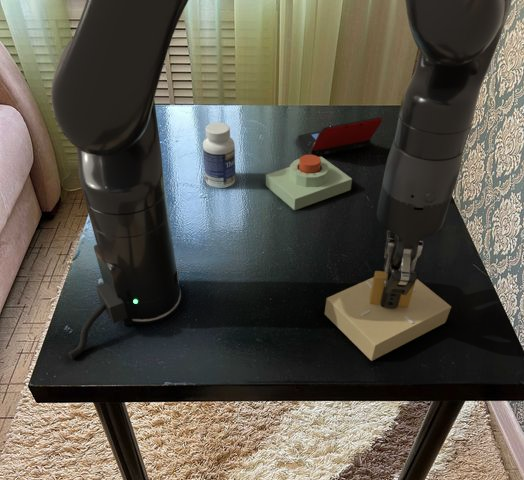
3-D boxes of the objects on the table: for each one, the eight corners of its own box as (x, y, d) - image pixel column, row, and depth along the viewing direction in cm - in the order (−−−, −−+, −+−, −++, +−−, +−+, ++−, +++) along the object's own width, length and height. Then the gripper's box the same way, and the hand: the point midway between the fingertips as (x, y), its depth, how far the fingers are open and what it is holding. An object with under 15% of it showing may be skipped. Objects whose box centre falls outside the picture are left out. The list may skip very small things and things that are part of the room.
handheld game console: (352, 130, 109) (357, 92, 103) (377, 155, 102) (384, 117, 97) (295, 140, 106) (297, 102, 100) (318, 167, 99) (321, 128, 94)
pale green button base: (294, 210, 90) (295, 189, 87) (265, 185, 95) (265, 164, 92) (350, 190, 94) (353, 169, 91) (320, 167, 99) (322, 146, 96)
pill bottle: (231, 190, 94) (229, 137, 86) (202, 187, 94) (197, 133, 87) (238, 174, 97) (237, 122, 90) (210, 171, 98) (206, 118, 91)
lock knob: (369, 303, 70) (375, 276, 67) (369, 296, 71) (375, 268, 68) (408, 307, 70) (416, 279, 67) (407, 300, 71) (415, 272, 67)
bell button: (307, 176, 90) (307, 167, 89) (294, 167, 92) (295, 157, 91) (324, 171, 91) (325, 161, 90) (311, 161, 93) (312, 152, 92)
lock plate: (371, 361, 68) (375, 344, 66) (324, 314, 73) (326, 297, 71) (445, 322, 73) (452, 305, 70) (395, 281, 78) (400, 264, 76)
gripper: (382, 148, 62) (360, 264, 75) (383, 216, 53) (358, 335, 66) (448, 153, 62) (414, 270, 75) (460, 223, 53) (420, 342, 66)
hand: (388, 300), depth 71 cm, fingers closed
